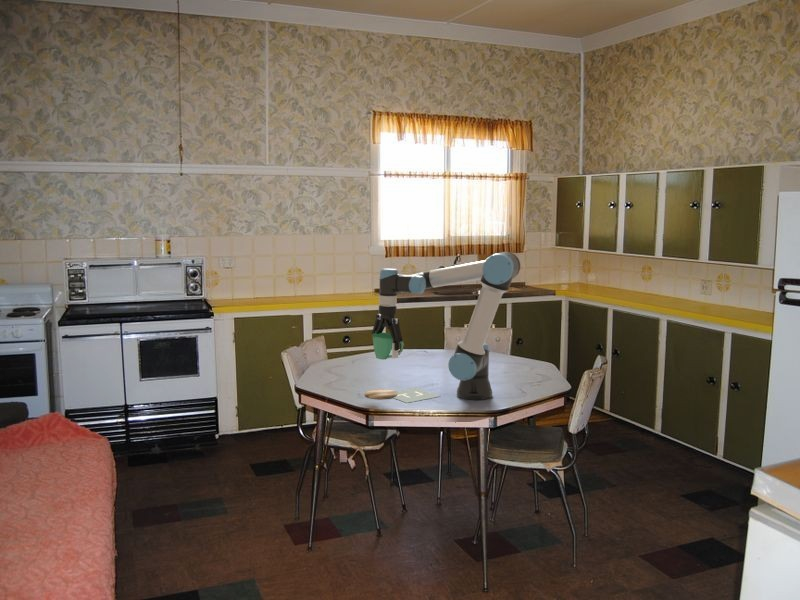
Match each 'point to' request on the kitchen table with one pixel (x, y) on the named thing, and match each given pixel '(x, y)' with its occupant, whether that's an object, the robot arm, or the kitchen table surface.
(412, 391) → the tile
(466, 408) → the kitchen table surface
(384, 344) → the mug
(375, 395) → the coaster
